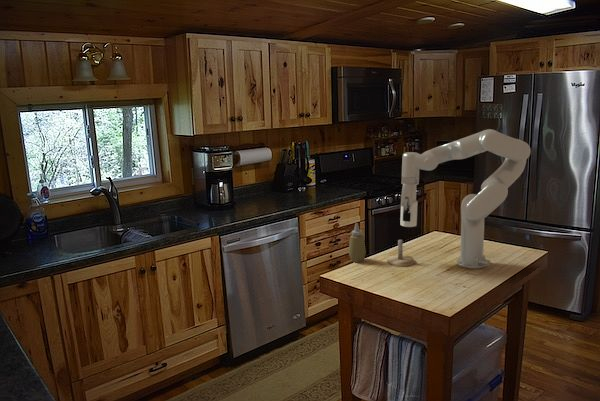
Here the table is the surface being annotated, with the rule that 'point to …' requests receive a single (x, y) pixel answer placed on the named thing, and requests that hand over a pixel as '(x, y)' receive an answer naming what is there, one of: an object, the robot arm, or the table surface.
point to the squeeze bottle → (357, 245)
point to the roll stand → (400, 257)
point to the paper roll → (412, 217)
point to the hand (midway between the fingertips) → (408, 218)
